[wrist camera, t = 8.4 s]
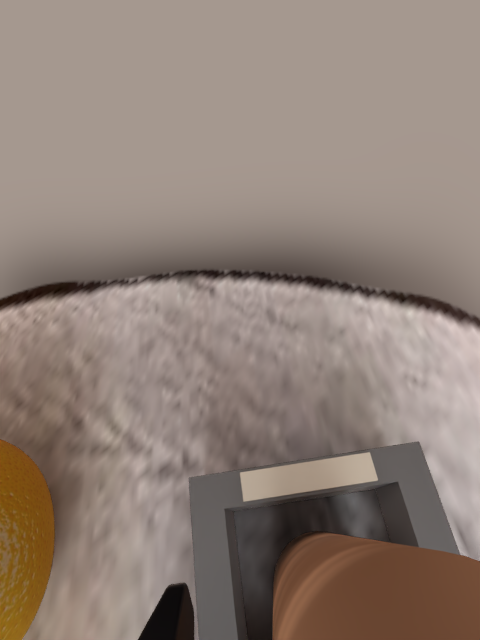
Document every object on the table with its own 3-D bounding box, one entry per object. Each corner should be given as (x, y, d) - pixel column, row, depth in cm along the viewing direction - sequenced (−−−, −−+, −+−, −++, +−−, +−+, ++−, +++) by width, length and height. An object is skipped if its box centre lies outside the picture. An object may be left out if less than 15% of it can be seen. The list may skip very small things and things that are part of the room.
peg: (310, 676, 14) (473, 1375, 2) (255, 565, 16) (205, 674, 4) (394, 611, 15) (818, 920, 3) (332, 512, 16) (463, 486, 5)
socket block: (226, 763, 13) (210, 844, 10) (203, 485, 17) (187, 477, 14) (480, 724, 13) (549, 791, 10) (393, 455, 17) (420, 440, 14)
